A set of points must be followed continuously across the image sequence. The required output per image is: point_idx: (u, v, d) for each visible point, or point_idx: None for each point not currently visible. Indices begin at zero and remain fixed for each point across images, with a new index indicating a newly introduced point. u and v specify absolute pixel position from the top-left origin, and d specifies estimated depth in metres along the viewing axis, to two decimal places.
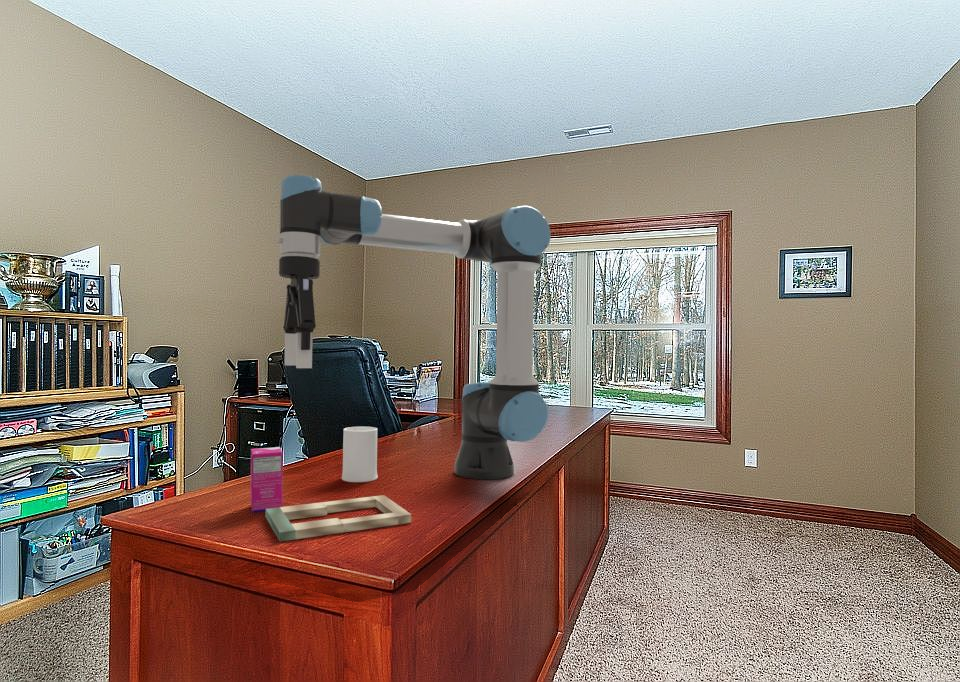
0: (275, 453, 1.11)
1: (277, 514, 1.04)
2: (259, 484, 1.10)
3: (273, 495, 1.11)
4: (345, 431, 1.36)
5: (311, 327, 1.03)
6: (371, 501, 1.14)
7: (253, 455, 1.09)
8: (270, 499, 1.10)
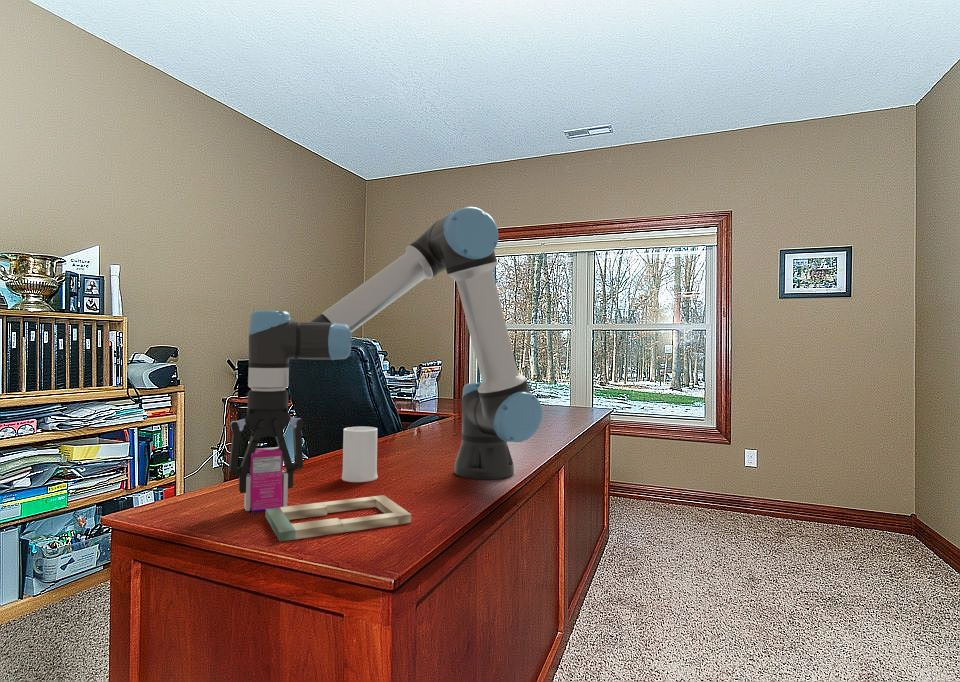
0: (275, 453, 1.11)
1: (277, 514, 1.04)
2: (259, 484, 1.10)
3: (273, 495, 1.11)
4: (345, 431, 1.36)
5: (230, 472, 1.09)
6: (371, 501, 1.14)
7: (253, 455, 1.09)
8: (269, 499, 1.10)
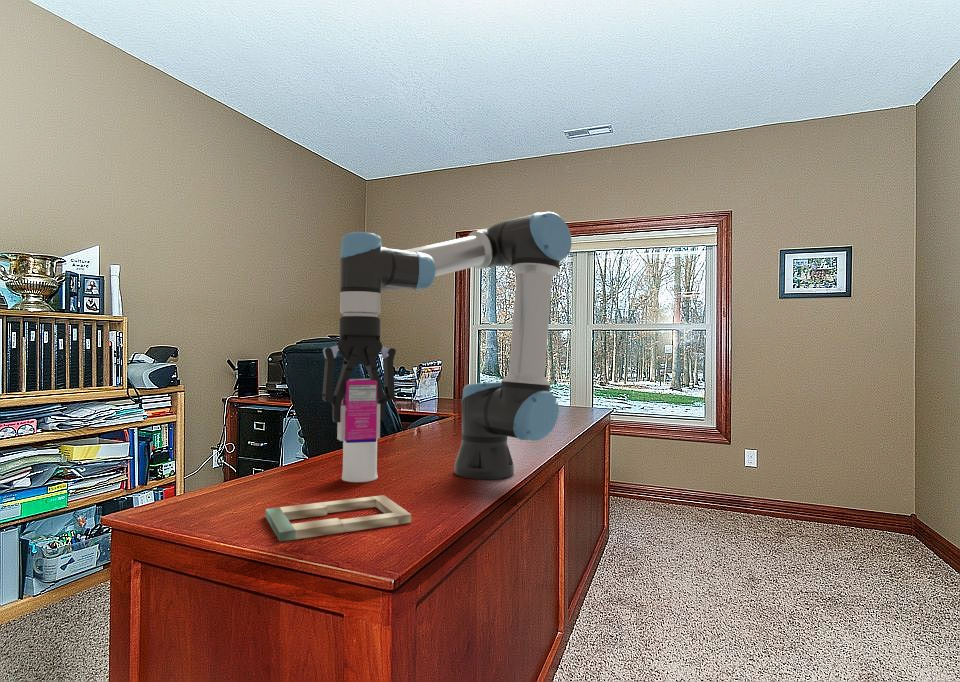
0: (370, 382, 1.06)
1: (277, 514, 1.04)
2: (354, 413, 1.05)
3: (368, 426, 1.06)
4: None
5: (325, 400, 1.05)
6: (371, 501, 1.14)
7: (349, 382, 1.05)
8: (364, 429, 1.06)
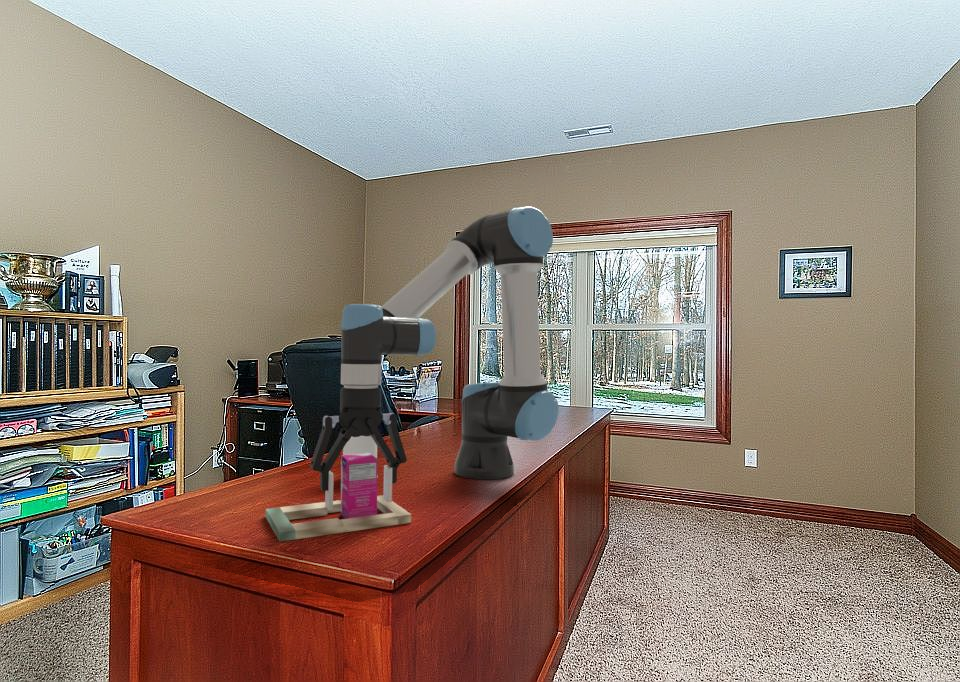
0: (370, 459, 1.06)
1: (277, 514, 1.04)
2: (355, 492, 1.05)
3: (369, 504, 1.06)
4: None
5: (313, 469, 1.03)
6: None
7: (349, 462, 1.04)
8: (365, 507, 1.06)
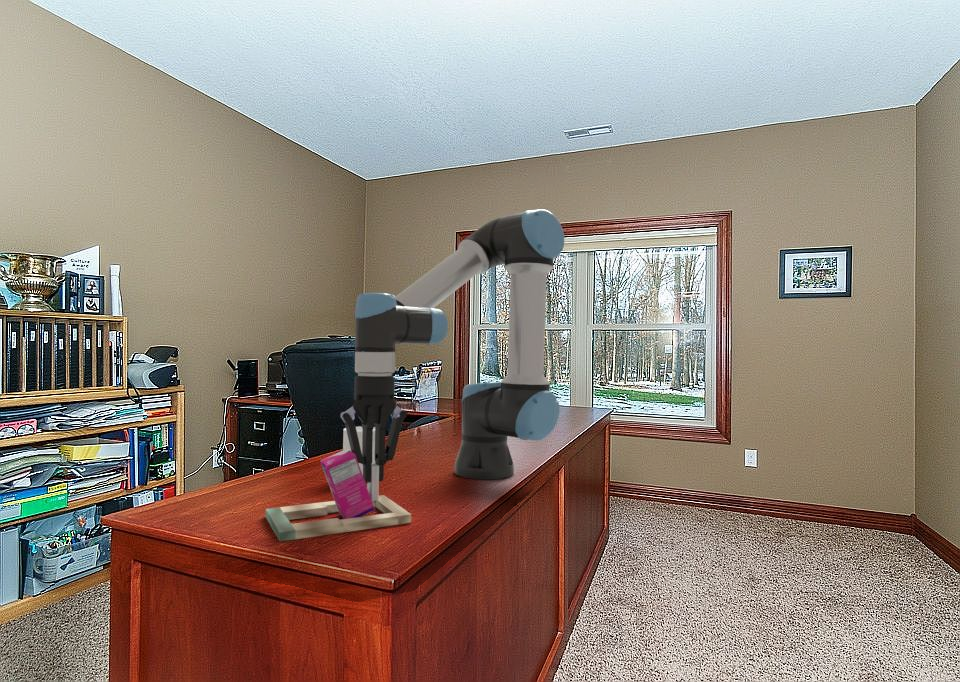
0: (348, 457, 1.04)
1: (277, 514, 1.04)
2: (343, 493, 1.04)
3: (361, 499, 1.05)
4: (345, 431, 1.36)
5: None
6: None
7: (328, 467, 1.03)
8: (359, 503, 1.05)
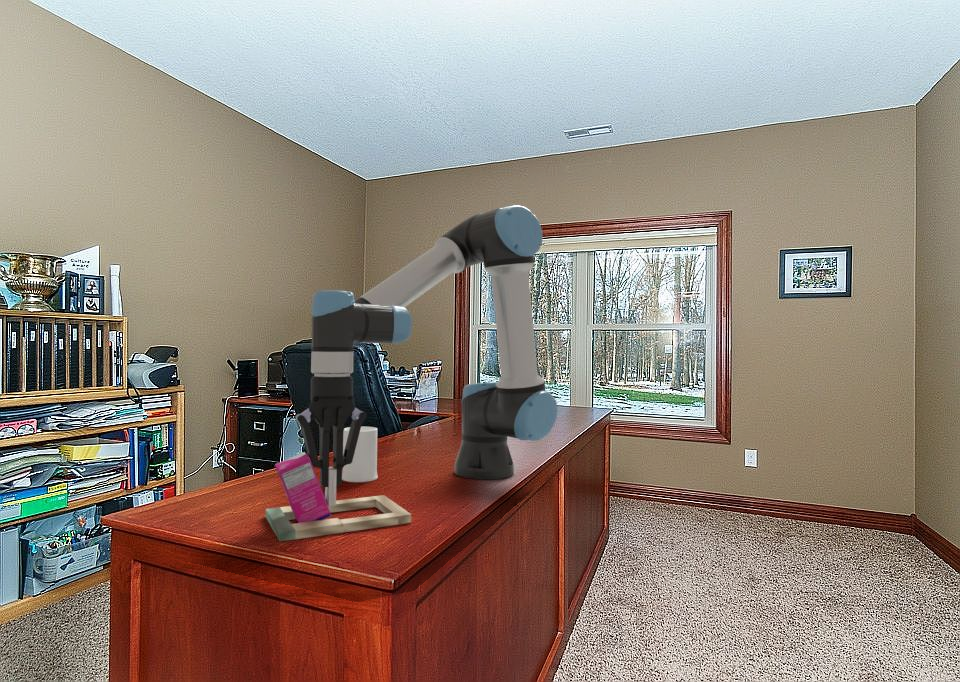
0: (303, 461, 1.00)
1: (277, 514, 1.04)
2: (297, 498, 1.00)
3: (317, 504, 1.01)
4: (345, 431, 1.36)
5: None
6: (371, 501, 1.14)
7: (280, 471, 0.99)
8: (314, 509, 1.01)
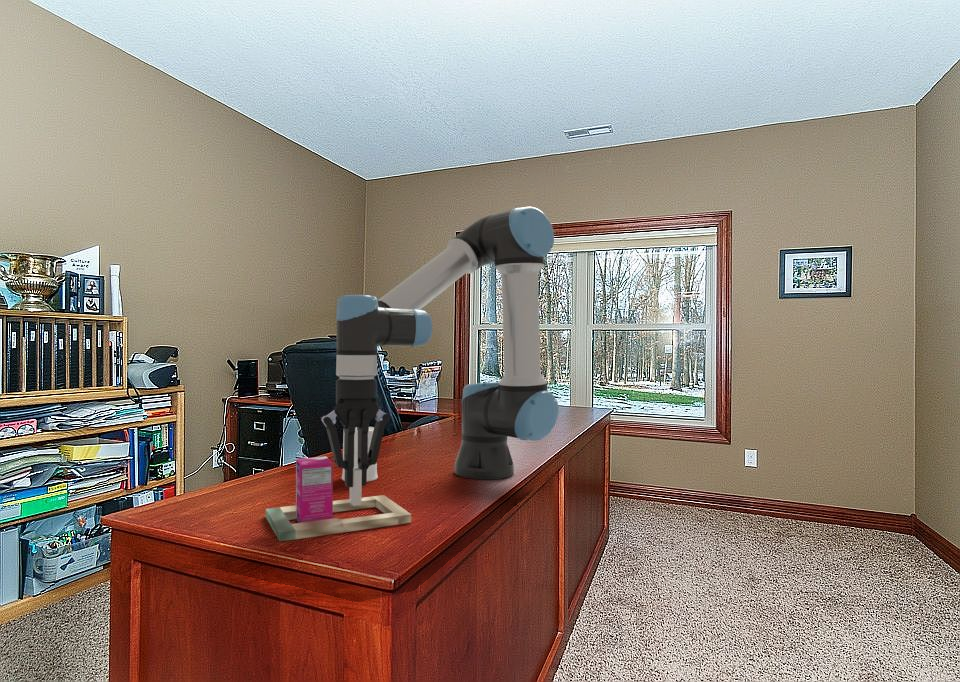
0: (325, 463, 1.02)
1: (277, 514, 1.04)
2: (308, 497, 1.00)
3: (323, 510, 1.02)
4: None
5: (338, 466, 1.05)
6: (371, 501, 1.14)
7: (302, 466, 1.00)
8: (320, 513, 1.01)
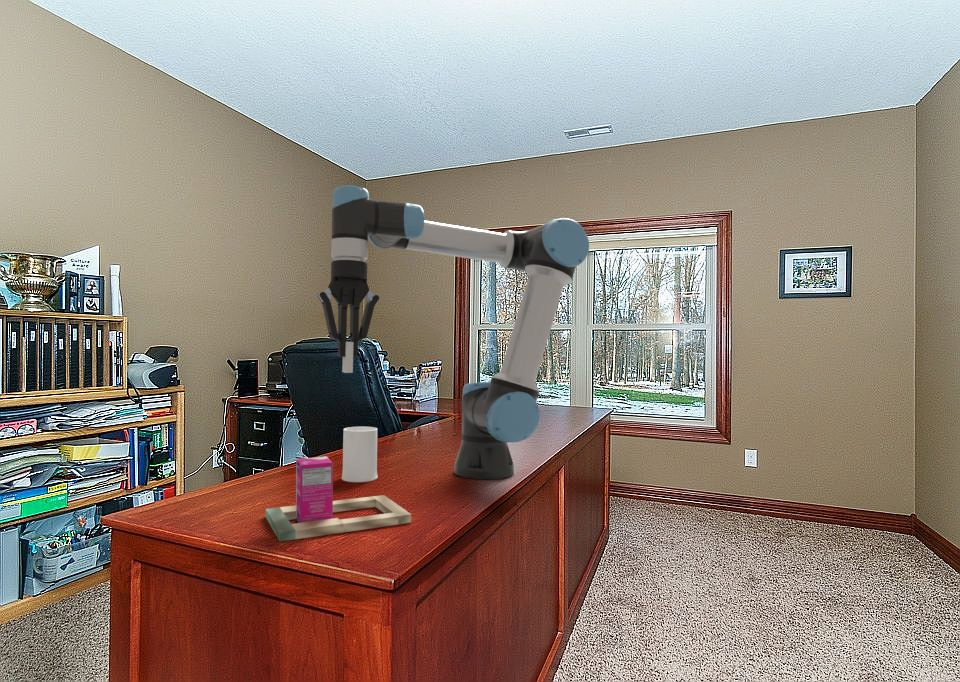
0: (325, 463, 1.02)
1: (277, 514, 1.04)
2: (308, 497, 1.00)
3: (323, 510, 1.02)
4: (345, 431, 1.36)
5: (332, 337, 1.19)
6: (371, 501, 1.14)
7: (302, 466, 1.00)
8: (320, 513, 1.01)
